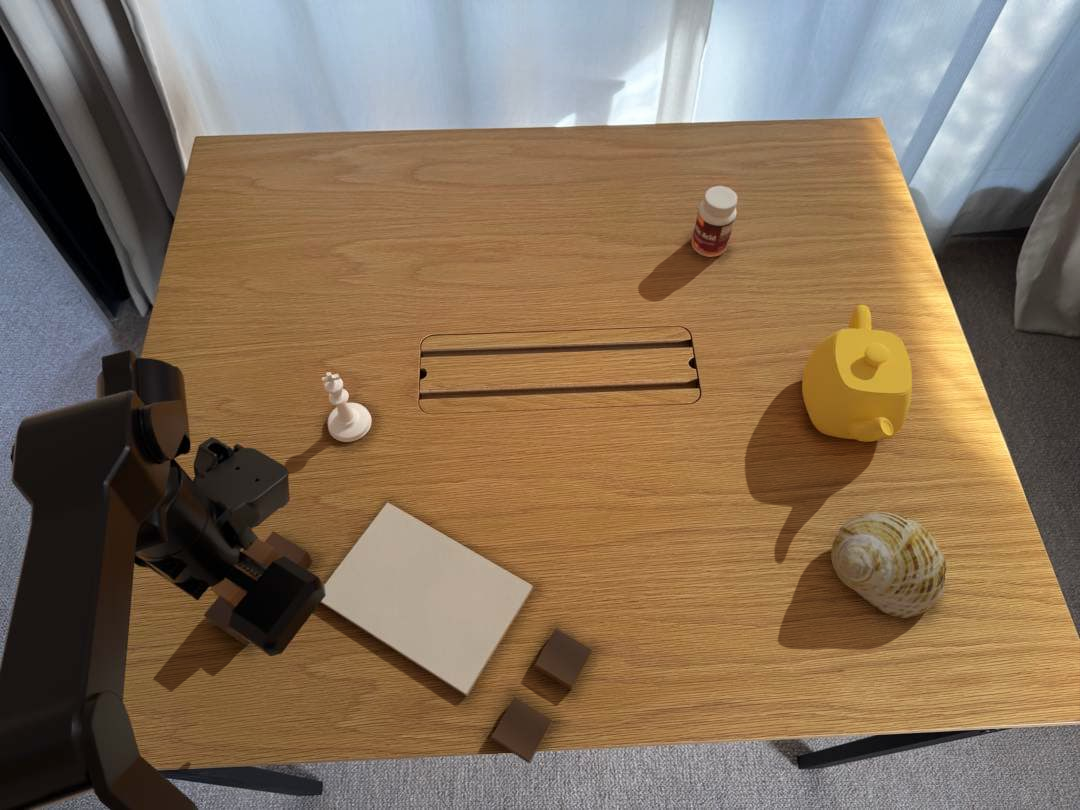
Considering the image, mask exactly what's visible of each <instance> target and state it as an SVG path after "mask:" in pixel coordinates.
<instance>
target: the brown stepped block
mask: <svg viewBox="0 0 1080 810" xmlns="http://www.w3.org/2000/svg"><path fill="white" fill-rule="evenodd" d="M241 552H243V553H245V554H246V555H248V556H249V557H251V558H252V559H254V560H256V561H257V562H259V563H260V564H262V565H264V566H265V567H267V568H268V567H269V565H270V564H271V563H272V562H273V561H275V560H277V559H279V558H281V557H283V556H285V557H287V558H289V559H290V560H292V561H293V562H295V563H297V564H298V565H300V566H301V567H303V568H305V569H306V570H308V569H309V568H310V566H311V565H312V563H313V562H314V561H313V559H312V558H311V555H310V554H309V552H308V551H307V550H305V549H303V548H302V547H300V546H298V545H297V544H296V543H294V542H292V541H291V540H289V539H288V538H286V537H285V536H283V535H282V534H280V533H278V532H277V531H275V530H272V531H271V533H270V534H269V536H268V537H267V538H266V539H265V540H264V541H263V540H262V539H260V538H259V537H258V538H257V540H256V541H255V542H254V543H253V544H252V546H251V547H250V548H249V549H248V550H244V549H243V548H242V550H241ZM235 567H236V568H238V569H239V570H241V571H242V572H244V573H246V574H247V575H249V576H250V577H252V578H253V579H255V580H256V581H257V580H258V579H257V576H256V577H254V576H253V574H249V571H248V572H246V571H245V569H244V570H243V569H242V568H241V567H238V566H237V564H236V566H235ZM210 590H211V591H212V592H213V593H214V594H215V595H216V596H217V598H216V600H214V602H213V603H212V604H211V605H210V607H209V608H208V609H207V610H206V612H205V613H204V614H203V617H205V618H206V619H207V620H209V621H210V622H211V623H213V624H214V625H215V626H216V627H218V628H219V629H221V630H222V631H224V632H225V633H227V634H228V635H229V636H231V637H233V638H234V639H235V640H237V641H238V642H239V643H241V644H243V645H244V646H246V647H247V646H248V645H249V644H250V642H249V641H247V640H246V639H244V638H243V637H242V636H240V635H239V634H238V633H236V632H235V631H233V630H232V629H231V628H230V627H229V626H228V624H229V620H230V617H231V613H232V611H233V609H234V608H235V607H236V606H237V605H238V603H239V602H240V601H241V600H242V598H243V597H244V596H245V595H246V594H247V593H245V592H244V591H242V590H241V589H239V588H238V587H236V586H234V585H233V584H231V583H230V582H228V581H227V580H225V579H224V580H223V581H221V582H220V583H218V584H217V585H215V586H213V587H210Z"/></svg>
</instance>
